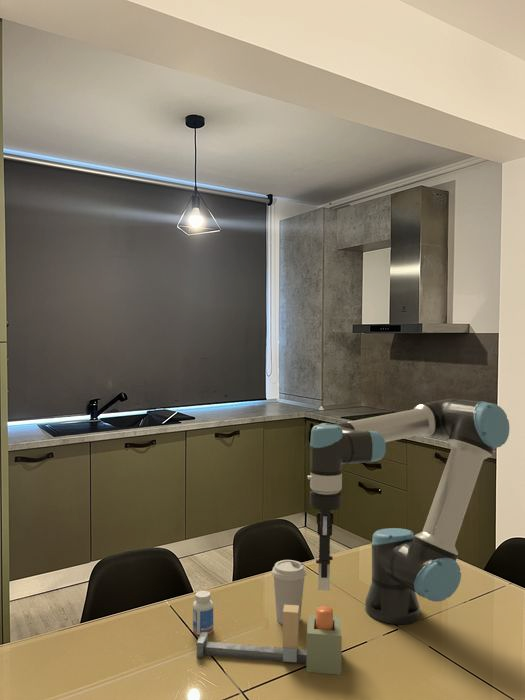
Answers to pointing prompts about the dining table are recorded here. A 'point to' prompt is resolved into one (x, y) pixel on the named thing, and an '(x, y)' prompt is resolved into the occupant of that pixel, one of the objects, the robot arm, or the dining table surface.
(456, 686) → the dining table surface
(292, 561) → the coffee cup
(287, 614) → the carriage
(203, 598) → the pill bottle
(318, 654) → the green square holder
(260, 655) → the rail
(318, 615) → the orange rounded piece
